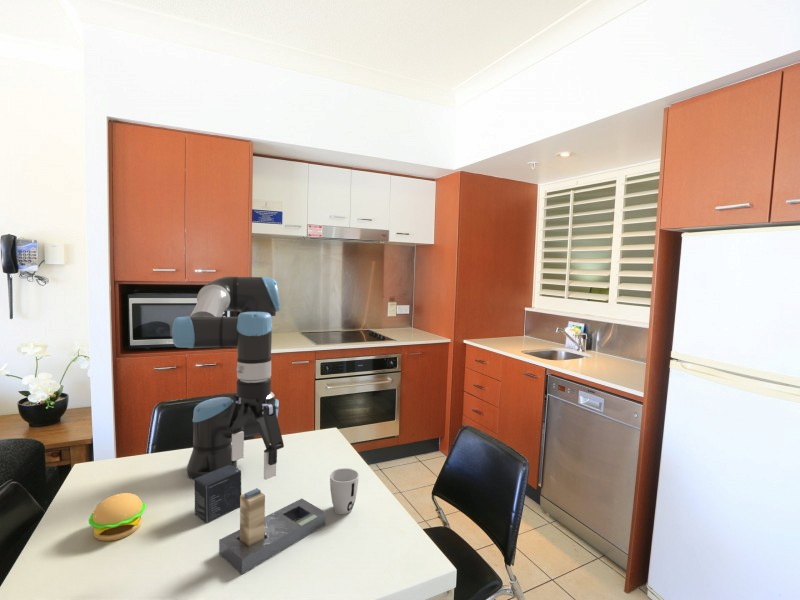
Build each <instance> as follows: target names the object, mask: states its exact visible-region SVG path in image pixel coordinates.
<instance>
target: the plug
mask: <svg viewBox="0 0 800 600" xmlns="http://www.w3.org/2000/svg"><path fill="white" fill-rule="evenodd" d="M265 507H266V495H265V493H264V492H261V490H260V489H259V488H258V487H257V488H254V489H251V490H248V491H247V492H245V493H243V494H241V495H240V507H239V530H240V542H241V543H243V544H244V545H245V546H246V547H248V548H249V547H251V546H253V545H254V544H256V543H258V542H260V541H262V540H264V528H265V517H266V515H265V513H266V511H265V510H266V508H265Z"/></svg>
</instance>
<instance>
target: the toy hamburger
mask: <svg viewBox="0 0 800 600" xmlns="http://www.w3.org/2000/svg"><path fill="white" fill-rule="evenodd" d="M146 509H147V505H146V503H145V502H143V501H142V500H141V498H140V497H139V496H138V495H137V494H135V493H130V492H122V493H116V494H114V495H111V496H109V497H108V496H107V497H106V498H105V499H103V501H101V502H100V503H99V504H97V506H96V508H95V509H94V510H93V513H90V515H89V518H88V524H89V526H91V527H93V536H94V537H95V539H97V540H99V541H101V542H112V541H116V540H117V541H118V540H120V539H123V538H126V537H128V536H130V535H131V534H133V533H135V532H136V531H137V530H138V529H139V528H140V526H141V525H142V523H143V522H142V521H143V518H142V515H143V514H144V512H145V510H146Z"/></svg>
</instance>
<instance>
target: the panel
mask: <svg viewBox="0 0 800 600" xmlns="http://www.w3.org/2000/svg"><path fill="white" fill-rule="evenodd" d="M326 515H327V514H326V511H324V510H323V509H321V508H320V507H318V506H316V505H314V504H313V503H311V502H309V501H308V500H305V499H304V498H300V499H298V500H296V501H293V502H292V503H289V504H288V505H286V506H283V507H282V508H280V509H278V510H275V511H274V512H272V513H270V514H268V515H265V528H264V540H262V541H260V542H258V543H256V544H254V545H253V546H251V547H249V548H248V547H246V546H245V545H244V544H243V543H241V542H240V529H238V530H236V531H234V532H232V533H230V534H228V535H226V536H223V537H222V538H219V542H218V554H219V556H220V557H222V558H223V559H224V560H225V561H226V562H227V563H229V565H231V566H232V567H233V568H234V569H235V570H236V571H237V572H238V573H240V574H241V575H244V574H245V573H247V572H249V571H250V570H253V569H254V568H255V567H257V566H259V565H261V564H262V563H264V562H265V561H267V560H269V559H270V558H272V557H274V556H275V555H277V554H279V553H281V552H282V551H285V549H287V548H289V547H290V546H292V545H295V544H296V543H298V542H299V541H301V540H302V539H304V538H305V537H308V536H309V535H311V534H313V533H314V532H315V531H318V530H319V529H321V528H323V527H325V526H326V518H327V517H326ZM298 519H299V520H298Z"/></svg>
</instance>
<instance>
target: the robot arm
mask: <svg viewBox="0 0 800 600" xmlns="http://www.w3.org/2000/svg"><path fill="white" fill-rule="evenodd" d="M279 296H280V293H279V289H278V283H277V280H276V279H275V278H272V277H263V276H261V277H260V276H259V277H258V276H223V277H220V278H217V279H214V280H212V281H210V282H208V283H206V284H205V285H204V286H202V287H201V288H200V289H199V291H198V294H197V297H196V305H195V306H194V307H193V310H192V312H191V314H190V315H186V316H178V317H176V318H175V319H174V320H173V323H172V329H171V330H172V336H171V337H172V342H173V345H174V346H175V347H176V348H184V349H185V348H187V349H200V348H202V349H203V348H204V349H205V348H230V347H231V348H236V349H237V352H236V353H237V355H236V357H237V358H236V361H237V362H236V363H237V365H236V369H235V371H236V378H237V379H238V380H237V381H236V394H234V395H233V397H232V398H231V397H229V396H228V397H227V396H226V397H225V396H220V397H219V396H218V397H213V398H210V399H206V400H204V401H202V402H200V403H198V404H197V405H196V406H195V407H194V409H193V412H192V413H193V418H192V431H193V433H192V451H191V454H190V456H189V457H190V458H189V460H188V462H187V465H186V474H187V477H188V478H190V479H192V480H194V479H195V478H197V477H200V476H202V475H205V474H207V473H210V472H212V471H215V470H217V469H220V468H222V467H225V466H227V465H230V466H233V467H235V468H237V466H238V460H241V459H244V456H245V455H244V454H245V453H244V451H245V450H244V448H245V446H244V445H245V443H244V442H245V441H244V440H245V437H246V438H247V437H258V436H259V437H261V438H262V441H263V444H264V447H265V449H264V450H263V480H265V481H266V480H269V479H271V478H273V477H275V476H276V477H277V463H278V458H277V457H278V450H280V449H283V448H284V447H285V444H284V440H283V436H282V432H281V429H280V424H279V421H278V415H279V405H280V403H279V399H277V398H275V394H274V392H272V380H271V377H272V341H273V339H272V338H273V337H272V336H273V333H272V332H273V320H274V319H275V318H276V316H277V315H276V313H278V312H280V310H281V306H280V305H281V304H280V297H279ZM224 312H239V314H238V315H237V316H223V314H224ZM232 399H233V400H232Z"/></svg>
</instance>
